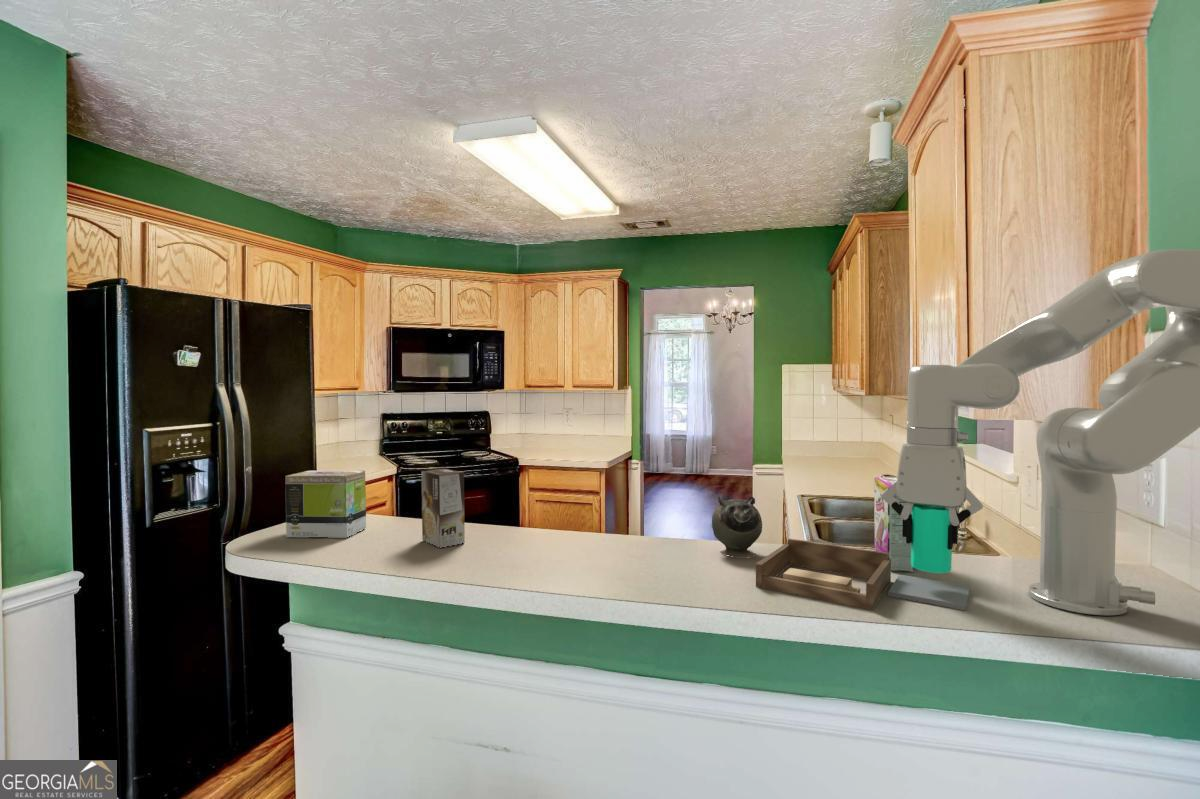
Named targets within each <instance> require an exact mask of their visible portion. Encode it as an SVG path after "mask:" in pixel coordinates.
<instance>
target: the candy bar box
mask: <svg viewBox="0 0 1200 799" xmlns="http://www.w3.org/2000/svg"><path fill="white" fill-rule="evenodd" d="M896 482H897V477H887V476H886V477H882V476H877V477H874V478H873V486H874V487H873V490H874V492H873V494H874V498H873V499H874V500H873V501H874V502H873V504H874V506H873V507H874V508H873V509H874V510H873V513H874V516H873V517H874V524H873V525H874V529H873V530H874V533H873V534H874V536H873V537H874V540H873V541H874V550H873V551H879V552H885V553H888V559H891V572H893V573H894V572H899V573H915V568H913V567H912V566H911V543H910V544H908V543H906V537H903V536H902V529H903V519H902V518H901V517H900V515H899V514H898V513H897V512H896V511H895V510H894V509H893V508H892V507H891V506H890V505H889V504H888V503H887V502H886V501H885V500H884V499H882V495H883V494H884V493H885V492H886V491H887V490H888V489H889V488H890V487H891V486H892V485H893V484H894V483H896ZM893 496H894V498H895V499H896V500H897V501H898V502H900V503H901V504H902V505H903V506H904V505H905V502H902V501H900V500H899V499H898V498H897V492H896V493H895V494H894V495H893ZM911 515H912V512H911Z"/></svg>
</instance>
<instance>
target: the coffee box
mask: <svg viewBox="0 0 1200 799" xmlns="http://www.w3.org/2000/svg"><path fill="white" fill-rule="evenodd" d="M420 472H421V473H420V474H421V525H422V526H421V527H422V528H421V530H422V531H421V532H422V535H421V536H422V537H421V538H422V540H424V541H426V542H425V543H427V542H428V543H427V544H429V543H430V545H432V544H433V545H432V546H434V545H435V547H437V548H439V547H440V548H439V549H443V548H442V547H444V548H448V547H447V546H449V547H453V546H452V545H454V546H458V545H457V544H459V545H463V544H462V543H464V544H465V534H466V533H465V472H463V471H459V470H454V469H449V468H438V469H437V468H436V469H429V470H421V471H420ZM424 541H423V542H424Z"/></svg>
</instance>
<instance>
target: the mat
mask: <svg viewBox="0 0 1200 799" xmlns="http://www.w3.org/2000/svg"><path fill="white" fill-rule="evenodd" d="M970 591H971V586H970V585H967V584H960V583H953V582H947V581H941V580H940V581H939V580H935V579H931V578H930V579H929V578H925V577H924V578H923V577H917V576H911V575H904V574H898V576H897V577H896V578H895V580H894V582H893V583H892V586H891V587H890V589H889V590H888V597H890V598H895V597H897V598H896V599H900V598H903V599H902V600H906V599H908V601H911V600H914V601H913V602H917V601H920V602H919V603H922V602H925V603H924V604H927V603H929V605H934V606H940V607H945V608H951V609H955V610H961V611H966V610H967V606H968V601H969V596H970Z"/></svg>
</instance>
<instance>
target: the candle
mask: <svg viewBox="0 0 1200 799" xmlns="http://www.w3.org/2000/svg"><path fill="white" fill-rule="evenodd" d="M948 525H951V522H950V519H949V510H946V507H937V506H927V505H918V504H914V506H913V507H912V542H911V566H912V567H913V568H914V570H915V569H916V570H919V571H922V572H927V573H931V574H932V573H933V574H948V573H950V572H951V571H952V561H953V560H952V558H953V557H952V555H953V554H952V552H953V551H952V550H953V549H952V550H950V549H948Z"/></svg>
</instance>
